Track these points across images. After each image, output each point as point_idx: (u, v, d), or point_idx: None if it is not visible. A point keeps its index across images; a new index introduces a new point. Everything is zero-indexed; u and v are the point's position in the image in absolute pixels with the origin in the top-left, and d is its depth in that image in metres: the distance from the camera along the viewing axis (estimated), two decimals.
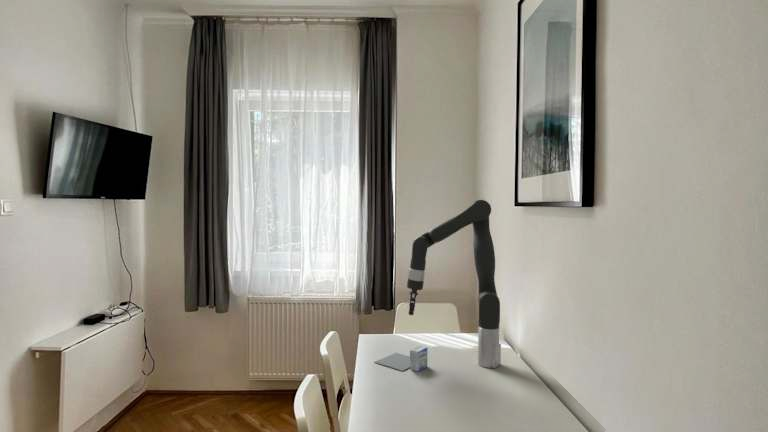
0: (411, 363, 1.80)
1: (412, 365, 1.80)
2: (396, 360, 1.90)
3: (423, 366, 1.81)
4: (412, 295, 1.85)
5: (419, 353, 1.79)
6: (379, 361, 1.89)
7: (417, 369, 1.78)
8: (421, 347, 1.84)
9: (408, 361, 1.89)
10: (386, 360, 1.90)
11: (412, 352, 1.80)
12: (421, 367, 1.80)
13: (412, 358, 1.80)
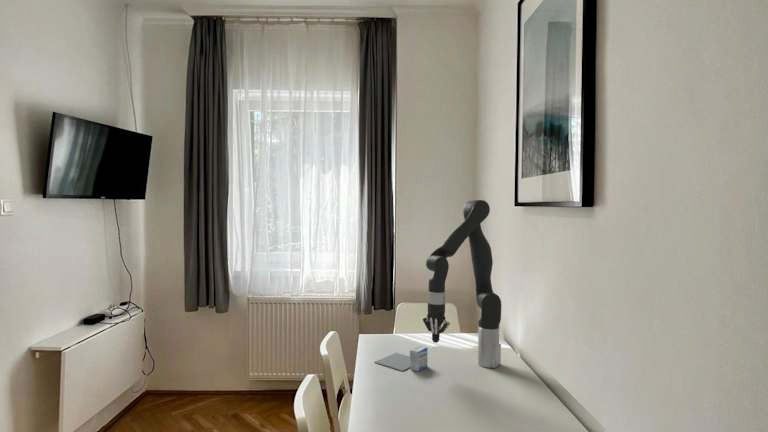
0: (411, 363, 1.80)
1: (412, 365, 1.80)
2: (396, 360, 1.90)
3: (423, 366, 1.81)
4: (447, 325, 1.73)
5: (419, 353, 1.79)
6: (379, 361, 1.89)
7: (417, 369, 1.78)
8: (421, 347, 1.84)
9: (408, 361, 1.89)
10: (386, 360, 1.90)
11: (412, 352, 1.80)
12: (421, 367, 1.80)
13: (412, 358, 1.80)
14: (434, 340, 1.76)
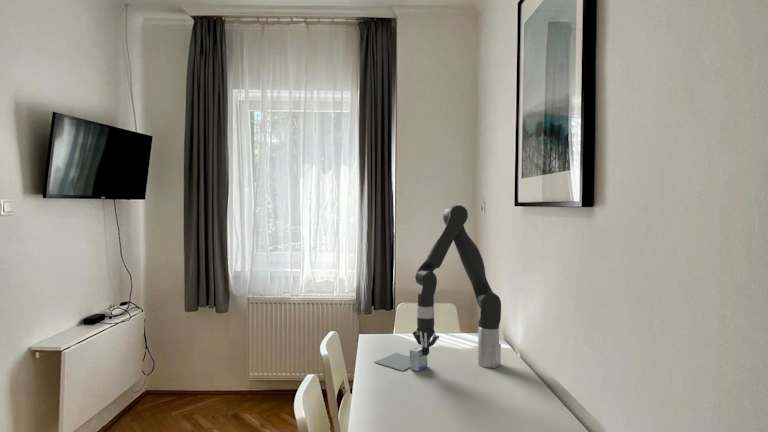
0: (411, 363, 1.80)
1: (412, 365, 1.80)
2: (396, 360, 1.90)
3: (423, 366, 1.81)
4: (436, 339, 1.76)
5: (419, 353, 1.79)
6: (379, 361, 1.89)
7: (417, 369, 1.78)
8: (420, 347, 1.84)
9: (408, 361, 1.89)
10: (386, 360, 1.90)
11: (412, 352, 1.80)
12: (421, 367, 1.80)
13: (412, 358, 1.80)
14: (424, 353, 1.79)
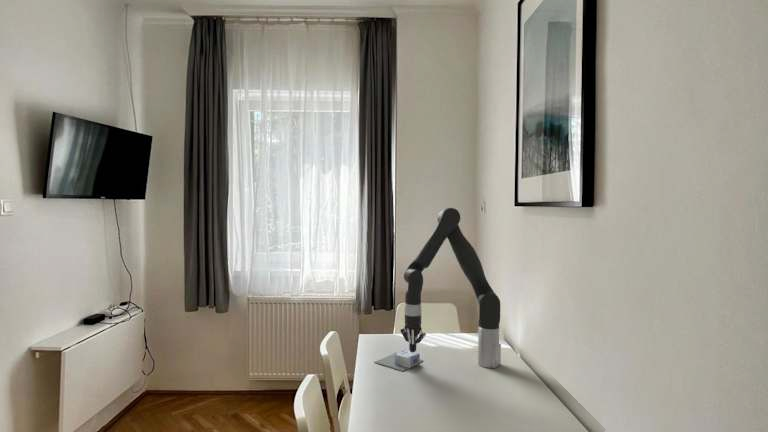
0: (404, 364, 1.82)
1: (406, 364, 1.82)
2: None
3: (413, 355, 1.84)
4: (423, 336, 1.80)
5: (397, 354, 1.86)
6: (379, 361, 1.89)
7: (408, 359, 1.81)
8: None
9: None
10: (386, 360, 1.90)
11: (395, 361, 1.85)
12: (411, 356, 1.83)
13: (400, 362, 1.84)
14: (411, 350, 1.83)
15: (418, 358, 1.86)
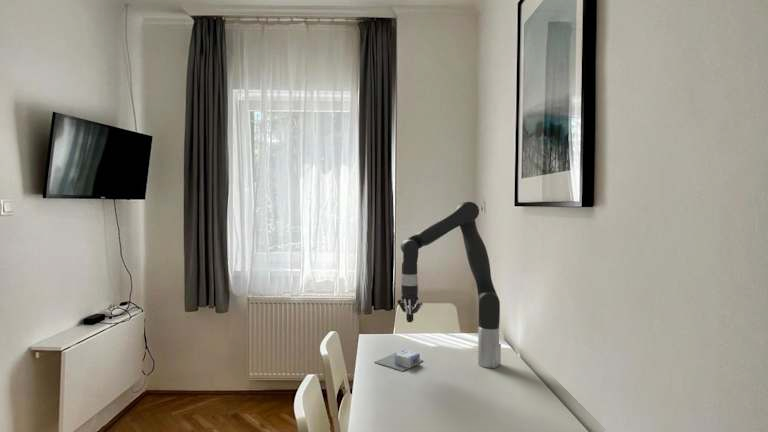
0: (404, 364, 1.82)
1: (406, 364, 1.82)
2: None
3: (413, 355, 1.84)
4: (419, 305, 1.81)
5: (397, 354, 1.86)
6: (379, 361, 1.89)
7: (408, 359, 1.81)
8: None
9: None
10: (386, 360, 1.90)
11: (395, 361, 1.85)
12: (411, 356, 1.83)
13: (400, 362, 1.84)
14: (408, 320, 1.84)
15: (418, 358, 1.86)
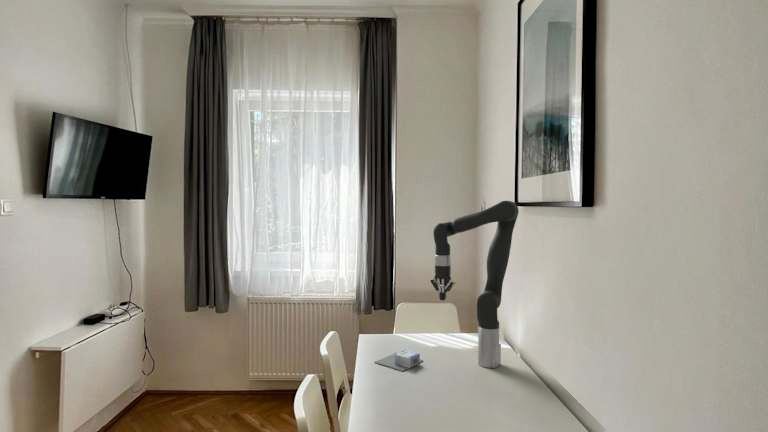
0: (404, 364, 1.82)
1: (406, 364, 1.82)
2: None
3: (413, 355, 1.84)
4: (452, 284, 1.93)
5: (397, 354, 1.86)
6: (379, 361, 1.89)
7: (408, 359, 1.81)
8: None
9: None
10: (386, 360, 1.90)
11: (395, 361, 1.85)
12: (411, 356, 1.83)
13: (400, 362, 1.84)
14: (441, 298, 1.97)
15: (418, 358, 1.86)
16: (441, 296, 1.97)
